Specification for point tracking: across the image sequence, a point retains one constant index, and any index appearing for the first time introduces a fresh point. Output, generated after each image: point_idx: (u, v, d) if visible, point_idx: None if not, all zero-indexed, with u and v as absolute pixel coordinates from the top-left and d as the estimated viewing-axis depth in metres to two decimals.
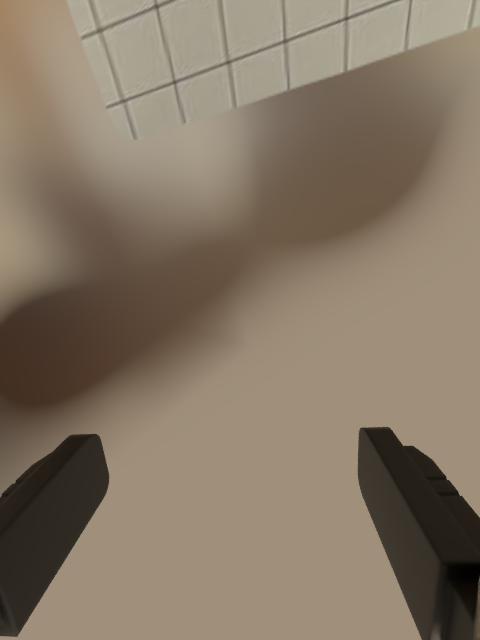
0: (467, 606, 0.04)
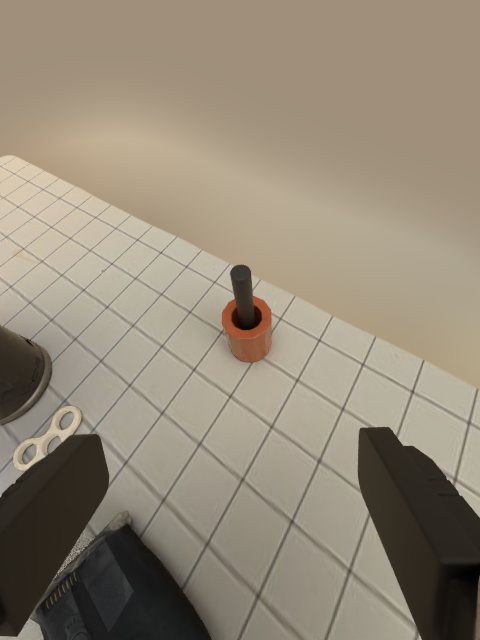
0: (467, 606, 0.04)
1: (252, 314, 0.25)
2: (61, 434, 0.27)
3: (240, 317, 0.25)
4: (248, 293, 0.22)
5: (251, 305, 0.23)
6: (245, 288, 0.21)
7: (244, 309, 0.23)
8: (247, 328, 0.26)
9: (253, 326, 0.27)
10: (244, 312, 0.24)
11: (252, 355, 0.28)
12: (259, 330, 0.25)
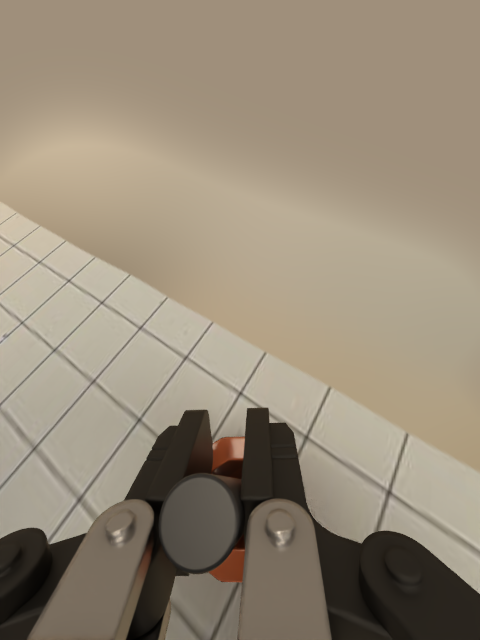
0: None
1: None
2: None
3: None
4: None
5: None
6: None
7: None
8: None
9: None
10: None
11: None
12: None
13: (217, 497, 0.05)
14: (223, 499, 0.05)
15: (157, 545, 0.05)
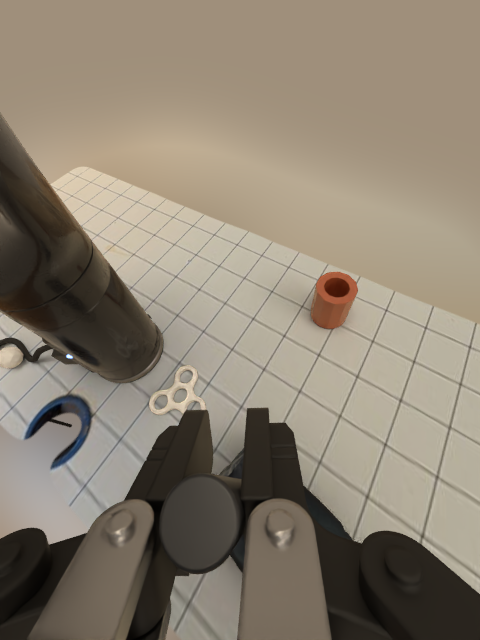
0: None
1: None
2: (185, 386, 0.34)
3: None
4: None
5: None
6: None
7: None
8: None
9: None
10: None
11: (336, 321, 0.35)
12: (349, 297, 0.32)
13: (217, 497, 0.05)
14: (223, 499, 0.05)
15: (157, 545, 0.05)
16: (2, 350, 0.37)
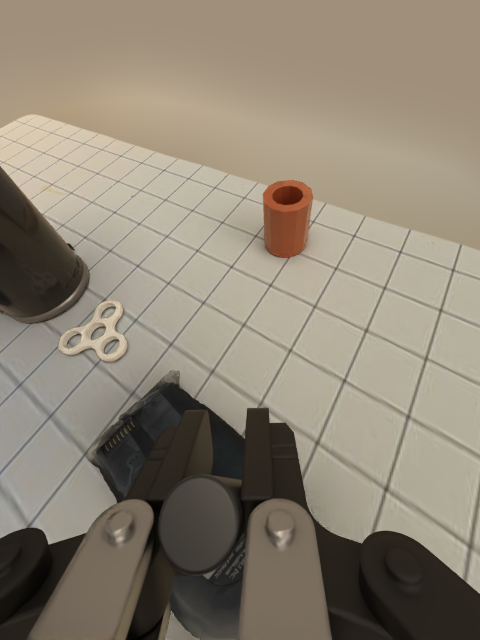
0: None
1: None
2: (105, 322, 0.27)
3: None
4: None
5: None
6: None
7: None
8: None
9: None
10: None
11: (291, 243, 0.29)
12: (301, 204, 0.25)
13: (216, 498, 0.05)
14: (222, 500, 0.05)
15: (157, 545, 0.05)
16: None
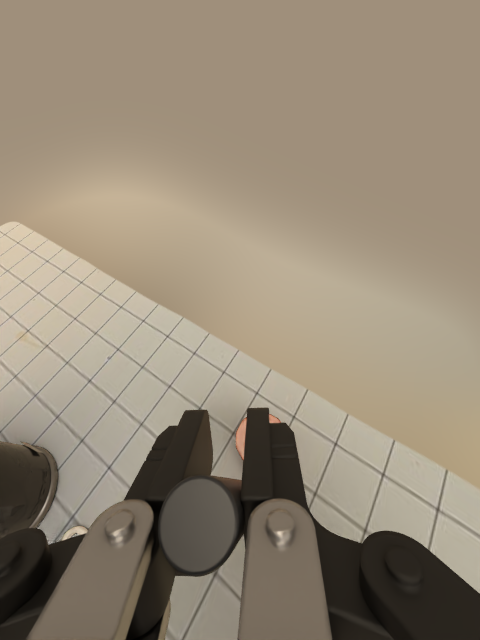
0: None
1: None
2: None
3: None
4: None
5: None
6: None
7: None
8: None
9: None
10: None
11: None
12: None
13: (216, 499, 0.05)
14: (222, 501, 0.05)
15: (157, 545, 0.05)
16: None
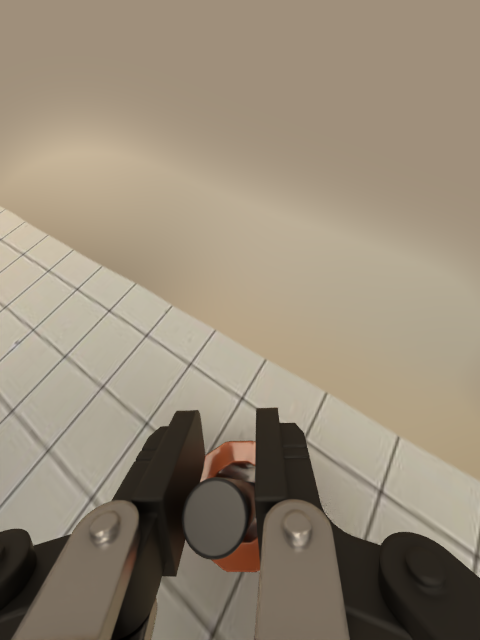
0: None
1: None
2: None
3: None
4: None
5: None
6: None
7: None
8: None
9: None
10: None
11: None
12: None
13: (230, 497, 0.06)
14: (235, 499, 0.06)
15: (142, 546, 0.05)
16: None
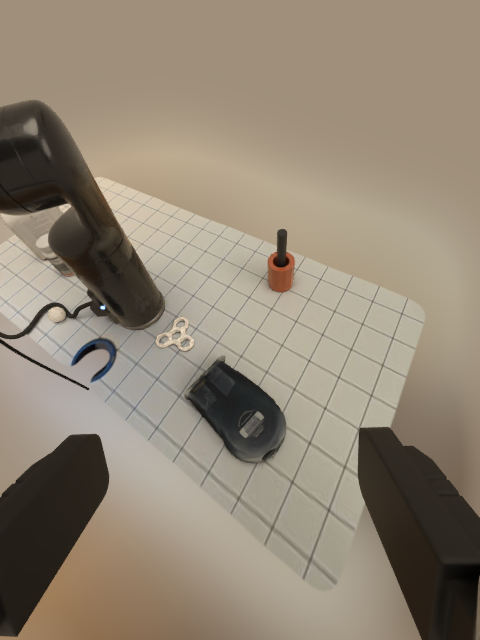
0: (467, 606, 0.04)
1: (285, 258, 0.47)
2: (180, 329, 0.50)
3: (278, 260, 0.47)
4: (285, 244, 0.44)
5: (285, 252, 0.46)
6: (284, 240, 0.43)
7: (281, 254, 0.46)
8: None
9: None
10: (281, 256, 0.46)
11: (283, 285, 0.51)
12: (288, 267, 0.48)
13: (284, 230, 0.43)
14: (285, 230, 0.43)
15: None
16: (52, 308, 0.53)
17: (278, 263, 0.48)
